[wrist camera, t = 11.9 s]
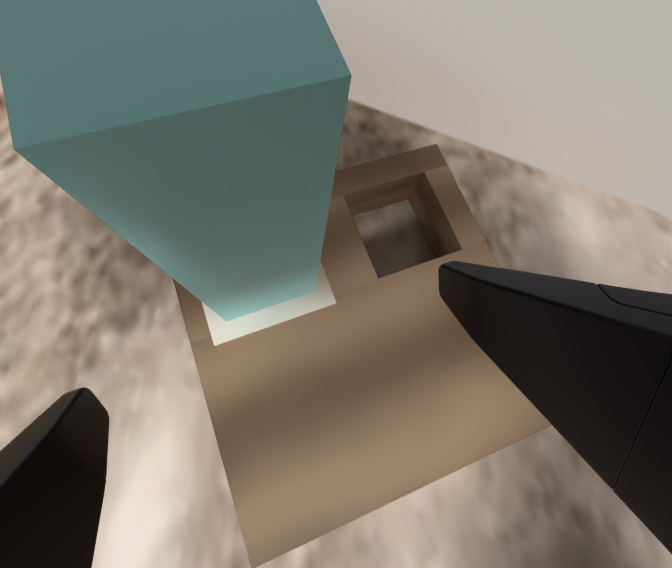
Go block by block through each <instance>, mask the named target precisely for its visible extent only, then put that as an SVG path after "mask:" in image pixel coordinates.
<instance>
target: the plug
mask: <svg viewBox="0 0 672 568" xmlns="http://www.w3.org/2000/svg"><path fill="white" fill-rule="evenodd" d="M0 75H1V80H2V86H3V91H4V97H5V103H6V108H7V114H8V120H9V125H10V131H11V136H12V142H13V148H14V150H15V151H16V152H18V153H19V154H20V155H21V156H23V157H24V158H25V159H26V160H28V161H29V162H30V163H31V164H33V165H34V166H35V167H36V168H37V169H39V170H40V171H41V172H42V173H44V174H45V175H46V176H47V177H49V178H50V179H51V180H52V181H53V182H55V183H56V184H57V185H58V186H60V187H61V188H62V189H63V190H65V191H66V192H67V193H68V194H69V195H71V196H72V197H73V198H74V199H76V200H77V201H78V202H79V203H81V204H82V205H83V206H84V207H86V208H87V209H88V210H89V211H90V212H92V213H93V214H94V215H95V216H97V217H98V218H99V219H100V220H102V221H103V222H104V223H105V224H106V225H108V226H109V227H110V228H111V229H113V230H114V231H115V232H116V233H118V234H119V235H120V236H121V237H123V238H124V239H125V240H126V241H127V242H129V243H130V244H131V245H132V246H134V247H135V248H136V249H137V250H139V251H140V252H141V253H142V254H143V255H145V256H146V257H147V258H148V259H150V260H151V261H152V262H153V263H155V264H156V265H157V266H158V267H159V268H161V269H162V270H163V271H164V272H166V273H167V274H168V275H169V276H171V277H172V278H173V279H174V280H176V281H177V282H178V283H179V284H180V285H182V286H183V287H184V288H185V289H187V290H188V291H189V292H190V293H192V294H193V295H194V296H195V297H196V298H198V299H199V300H200V301H201V302H203V303H204V304H205V305H206V306H208V307H209V308H210V309H211V310H213V311H214V312H215V313H216V314H217V315H219V316H220V317H221V318H222V319H224V320H225V321H226V322H227V321H230V320H232V319H235V318H238V317H241V316H244V315H247V314H250V313H253V312H256V311H259V310H262V309H265V308H268V307H271V306H274V305H277V304H279V303H282V302H285V301H288V300H291V299H294V298H297V297H300V296H303V295H306V294H309V293H312V292H315V289H316V283H317V277H318V271H319V265H320V259H321V253H322V247H323V241H324V236H325V230H326V224H327V218H328V212H329V206H330V200H331V194H332V188H333V182H334V176H335V170H336V164H337V158H338V152H339V146H340V140H341V135H342V129H343V123H344V117H345V111H346V105H347V99H348V93H349V87H350V81H351V73H350V71H349V69H348V67H347V65H346V62H345V60H344V58H343V56H342V54H341V52H340V50H339V48H338V45H337V43H336V41H335V39H334V37H333V35H332V33H331V31H330V29H329V26H328V24H327V22H326V20H325V18H324V16H323V14H322V12H321V9H320V7H319V5H318V3H317V1H316V0H0Z"/></svg>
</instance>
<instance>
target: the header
mask: <svg viewBox="0 0 672 568" xmlns="http://www.w3.org/2000/svg"><path fill="white" fill-rule="evenodd" d="M406 199H409V201H410V203H411V205H412V207H413V209H414V212H415V214H416V216H417V218H418V220H419V222H420V224H421V227H422V229H423V231H424V233H425V235H426V237H427V239H428V242H429V244H430V246H431V248H432V250H433V252H434V254H435V257H436V259H433V260H430V261H428V262H425V263H422V264H419V265H416V266H413V267H410V268H407V269H404V270H401V271H398V272H396V273H393V274H390V275H387V276H384V277H381V278H378V277H377V275H376V272H375V270H374V268H373V265H372V263H371V260H370V258H369V256H368V253H367V251H366V248H365V246H364V244H363V241H362V239H361V236H360V234H359V232H358V229H357V227H356V225H355V222H354V220H353V217H352V215H356V214H359V213H362V212H366V211H369V210H372V209H376V208H379V207H382V206H386V205H389V204H392V203H396V202H399V201H402V200H406ZM450 261H460V262H466V263H473V264H479V265H485V266H491V267H497V268H499V266H498V264H497V262H496V260H495V258H494V256H493V254H492V252H491V250H490V248H489V246H488V244H487V242H486V240H485V238H484V236H483V235H482V233H481V231H480V229H479V227H478V225H477V223H476V221H475V219H474V217H473V215H472V213H471V211H470V209H469V207H468V205H467V203H466V201H465V199H464V197H463V195H462V193H461V191H460V189H459V187H458V185H457V183H456V181H455V179H454V178H453V176H452V174H451V172H450V170H449V168H448V166H447V164H446V162H445V160H444V158H443V156H442V154H441V152H440V150H439V148H438V146H437V144H435V145H431V146H427V147H424V148H420V149H416V150H413V151H409V152H405V153H402V154H398V155H394V156H391V157H387V158H383V159H380V160H376V161H372V162H369V163H365V164H361V165H358V166H354V167H350V168H346V169H343V170H339V171H335V176H334V182H333V188H332V194H331V200H330V206H329V212H328V218H327V224H326V230H325V236H324V241H323V247H322V253H321V259H320V265H319V271H318V277H317V283H316V289H315V292H312V293H309V294H306V295H303V296H300V297H297V298H294V299H291V300H288V301H285V302H282V303H279V304H277V305H274V306H271V307H268V308H265V309H262V310H259V311H256V312H253V313H250V314H247V315H244V316H241V317H238V318H235V319H232V320H230V321H227V322H226V321H225V320H224V319H222V318H221V317H220V316H219V315H217V314H216V313H215V312H214V311H213V310H211V309H210V308H209V307H208V306H206V305H205V304H204V303H203V302H201V301H200V300H199V299H198V298H196V297H195V296H194V295H193V294H192V293H190V292H189V291H188V290H187V289H185V288H184V287H183V286H182V285H180V284H179V283H178V282H177V281H176V280H174V279H173V281H174V285H175V288H176V292H177V296H178V299H179V303H180V307H181V310H182V314H183V318H184V321H185V325H186V329H187V332H188V336H189V340H190V343H191V347H192V351H193V354H194V358H195V362H196V365H197V369H198V373H199V376H200V380H201V384H202V387H203V391H204V395H205V399H206V402H207V406H208V410H209V413H210V417H211V421H212V424H213V428H214V432H215V435H216V439H217V443H218V446H219V450H220V454H221V457H222V461H223V465H224V468H225V472H226V476H227V479H228V483H229V487H230V490H231V494H232V498H233V501H234V505H235V509H236V512H237V516H238V520H239V523H240V527H241V531H242V534H243V538H244V542H245V545H246V549H247V553H248V556H249V560H250V564H251V567H252V568H255V567H257V566H259V565H262V564H264V563H266V562H268V561H270V560H272V559H274V558H276V557H278V556H280V555H282V554H284V553H286V552H289V551H291V550H293V549H295V548H297V547H299V546H301V545H303V544H305V543H307V542H309V541H311V540H313V539H316V538H318V537H320V536H322V535H324V534H326V533H328V532H330V531H332V530H334V529H336V528H338V527H340V526H343V525H345V524H347V523H349V522H351V521H353V520H355V519H357V518H359V517H361V516H363V515H365V514H367V513H370V512H372V511H374V510H376V509H378V508H380V507H382V506H384V505H386V504H388V503H390V502H392V501H394V500H397V499H399V498H401V497H403V496H405V495H407V494H409V493H411V492H413V491H415V490H417V489H419V488H421V487H423V486H426V485H428V484H430V483H432V482H434V481H436V480H438V479H440V478H442V477H444V476H446V475H448V474H450V473H453V472H455V471H457V470H459V469H461V468H463V467H465V466H467V465H469V464H471V463H473V462H475V461H477V460H480V459H482V458H484V457H486V456H488V455H490V454H492V453H494V452H496V451H498V450H500V449H502V448H504V447H507V446H509V445H511V444H513V443H515V442H517V441H519V440H521V439H523V438H525V437H527V436H529V435H531V434H534V433H536V432H538V431H540V430H542V429H544V428H546V427H548V426H550V425H551V423H550V422H549V421H548V420H547V419H546V418H545V417H544V416H543V415H542V414H541V413H540V412H539V411H538V409H537V408H536V407H535V406H534V405H533V404H532V403H531V402H530V401H529V400H528V399H527V398H526V397H525V396H524V394H523V393H522V392H521V391H520V390H519V389H518V388H517V387H516V386H515V385H514V384H513V383H512V382H511V381H510V379H509V378H508V377H507V376H506V375H505V374H504V373H503V372H502V371H501V370H500V369H499V368H498V367H497V365H496V364H495V363H494V362H493V361H492V360H491V359H490V358H489V357H488V356H487V355H486V354H485V353H484V352H483V350H482V349H481V348H480V347H479V346H478V345H477V344H476V343H475V342H474V341H473V339H472V338H471V337H470V336H469V335H468V333H467V332H466V331H465V329H464V328H463V327H462V325H461V324H460V323H459V321H458V320H457V319H456V317H455V316H454V315H453V313H452V312H451V310H450V309H449V308H448V306H447V305H446V304H445V302H444V301H443V300H442V298H441V296H440V294H439V280H438V269H439V266H440V265H441V264H444V263H447V262H450Z"/></svg>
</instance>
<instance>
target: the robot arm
mask: <svg viewBox="0 0 672 568" xmlns="http://www.w3.org/2000/svg"><path fill="white" fill-rule="evenodd" d="M438 280H439V294H440V296H441V298H442V300H443V301H444V302H445V304H446V305H447V306H448V308H449V309H450V310H451V312H452V313H453V315H454V316H455V317H456V319H457V320H458V321H459V323H460V324H461V325H462V327H463V328H464V329H465V331H466V332H467V333H468V335H469V336H470V337H471V338H472V339H473V341H474V342H475V343H476V344H477V345H478V346H479V347H480V348H481V349H482V350H483V352H484V353H485V354H486V355H487V356H488V357H489V358H490V359H491V360H492V361H493V362H494V363H495V364H496V365H497V367H498V368H499V369H500V370H501V371H502V372H503V373H504V374H505V375H506V376H507V377H508V378H509V379H510V381H511V382H512V383H513V384H514V385H515V386H516V387H517V388H518V389H519V390H520V391H521V392H522V393H523V394H524V396H525V397H526V398H527V399H528V400H529V401H530V402H531V403H532V404H533V405H534V406H535V407H536V408H537V409H538V411H539V412H540V413H541V414H542V415H543V416H544V417H545V418H546V419H547V420H548V421H549V422H550V423H551V425H552V426H553V427H554V428H555V429H556V430H557V431H558V432H559V433H560V434H561V435H562V436H563V437H564V438H565V440H566V441H567V442H568V443H569V444H570V445H571V446H572V447H573V448H574V449H575V450H576V451H577V452H578V454H579V455H580V456H581V457H582V458H583V459H584V460H585V461H586V462H587V463H588V464H589V465H590V466H591V467H592V469H593V470H594V471H595V472H596V473H597V474H598V475H599V476H600V477H601V478H602V479H603V480H604V481H605V482H606V484H607V485H608V486H609V487H610V488H612V489H613V491H614V493H615V494H616V495H617V496H618V497H619V498H620V499H621V500H622V501H623V502H624V503H625V504H626V505H627V506H628V508H629V509H630V510H631V511H632V512H633V513H634V514H635V515H636V516H637V517H638V518H639V519H640V520H641V521H642V523H643V524H644V525H645V526H646V527H647V528H648V529H649V530H650V531H651V532H652V533H653V534H654V535H655V537H656V538H657V539H658V540H659V541H660V542H661V543H662V544H663V545H664V546H665V547H666V548H667V549H668V550H669V552H670V553H671V554H672V294H665V293H657V292H649V291H642V290H635V289H629V288H622V287H615V286H609V285H603V284H597V285H596V284H595V283H590V282H584V281H578V280H572V279H565V278H559V277H553V276H547V275H541V274H534V273H528V272H522V271H516V270H510V269H504V268H497V267H491V266H485V265H479V264H473V263H466V262H460V261H450V262H447V263H444V264H441V265H440V266H439V269H438ZM108 434H109V415H108V412H107V410H106V409H105V407H104V406H103V405H102V404H101V403H100V401H99V400H98V399H97V398H96V396H95V395H94V394H93V393H92V391H91V390H90V389H88V388H84V387H83V388H80V389H77V390H74V391H71V392H68V393H66V394H64V395H62V396H61V397H60V398H59V399H58V400H57V401H56V402H55V403H53V404H52V405H51V406H50V407H49V408H48V409H47V410H46V411H45V412H43V413H42V414H41V415H40V416H39V417H38V418H37V419H36V420H35V421H33V422H32V423H31V424H30V425H29V426H28V427H27V428H26V429H24V430H23V431H22V432H21V433H20V434H19V435H18V436H17V437H16V438H14V439H13V440H12V441H11V442H10V443H9V444H8V445H7V446H6V447H4V448H3V449H2V450H1V451H0V568H91V567H92V561H93V555H94V550H95V544H96V538H97V532H98V526H99V520H100V515H101V509H102V503H103V497H104V490H105V484H106V473H107V454H108Z"/></svg>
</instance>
